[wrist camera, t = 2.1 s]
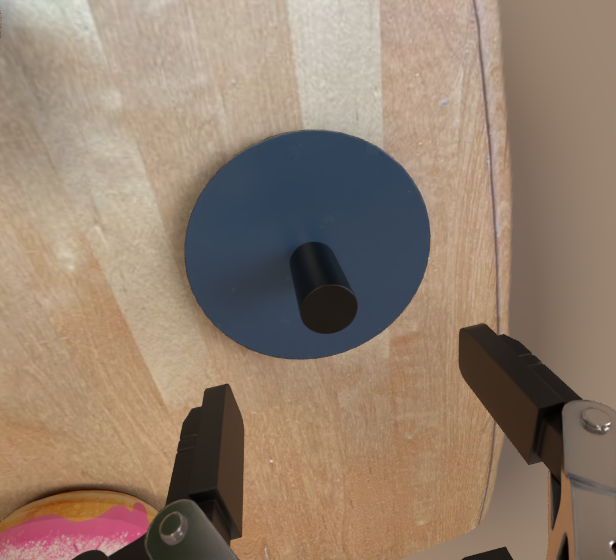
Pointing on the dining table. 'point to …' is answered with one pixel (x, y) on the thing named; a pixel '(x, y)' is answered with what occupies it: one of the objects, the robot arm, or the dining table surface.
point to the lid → (307, 244)
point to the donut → (74, 525)
